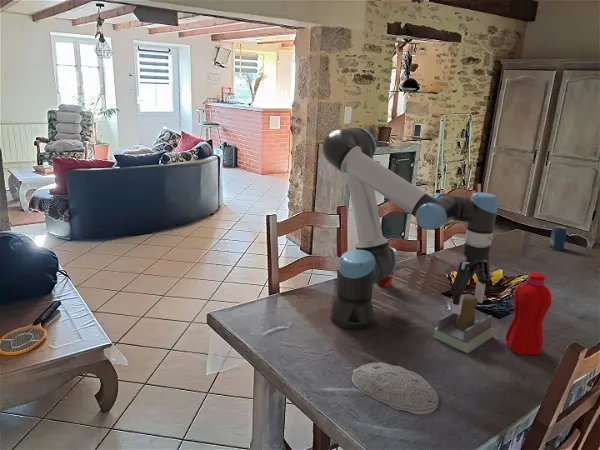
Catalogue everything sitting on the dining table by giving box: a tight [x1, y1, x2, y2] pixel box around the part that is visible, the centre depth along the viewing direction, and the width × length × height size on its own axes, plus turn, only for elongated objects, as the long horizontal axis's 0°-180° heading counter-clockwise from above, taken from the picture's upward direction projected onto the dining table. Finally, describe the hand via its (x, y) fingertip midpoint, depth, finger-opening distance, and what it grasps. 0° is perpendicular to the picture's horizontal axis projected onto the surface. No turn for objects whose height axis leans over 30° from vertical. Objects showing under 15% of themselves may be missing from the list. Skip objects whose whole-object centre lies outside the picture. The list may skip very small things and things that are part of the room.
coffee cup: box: [375, 247, 398, 288], centre depth 183 cm, size 8×8×15 cm
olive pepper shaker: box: [455, 293, 478, 331], centre depth 144 cm, size 6×6×11 cm
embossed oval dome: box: [351, 361, 440, 415], centre depth 119 cm, size 16×25×7 cm, turn 59°
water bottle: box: [505, 271, 552, 356], centre depth 137 cm, size 9×11×25 cm
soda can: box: [548, 224, 568, 251], centre depth 238 cm, size 7×7×12 cm
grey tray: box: [432, 311, 495, 354], centre depth 145 cm, size 16×12×7 cm
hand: (467, 307), depth 143 cm, fingers open, 13 cm apart
